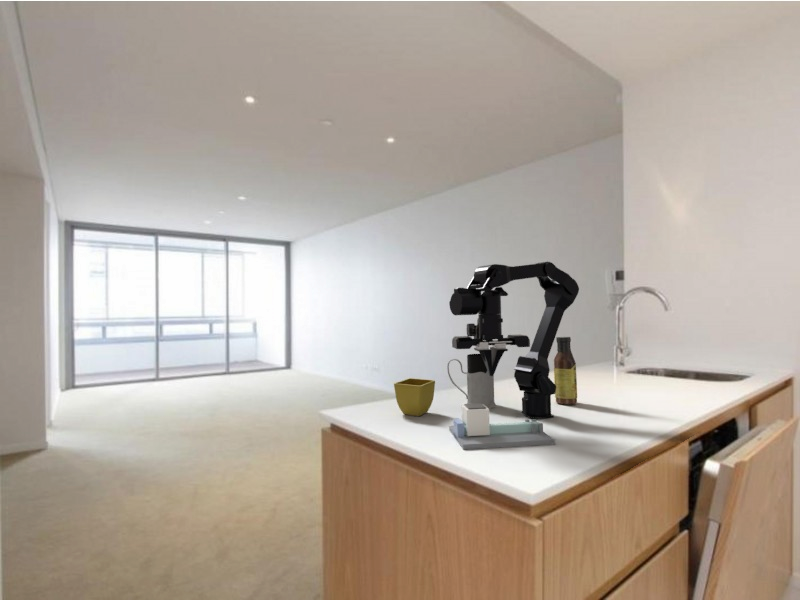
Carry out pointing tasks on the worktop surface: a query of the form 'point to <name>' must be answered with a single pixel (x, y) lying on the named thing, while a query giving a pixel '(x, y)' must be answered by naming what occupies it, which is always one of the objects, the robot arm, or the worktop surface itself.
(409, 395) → the flower pot
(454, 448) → the worktop surface
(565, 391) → the sauce bottle
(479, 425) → the sleeve
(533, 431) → the comb board
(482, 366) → the glass holder
